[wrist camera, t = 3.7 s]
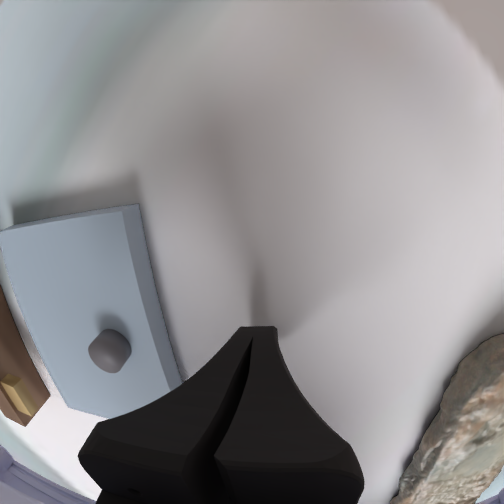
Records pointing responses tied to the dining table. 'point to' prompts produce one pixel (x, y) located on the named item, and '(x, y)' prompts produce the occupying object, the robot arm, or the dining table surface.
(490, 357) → the long grey stone
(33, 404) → the brown long block
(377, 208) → the dining table surface
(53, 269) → the door panel
